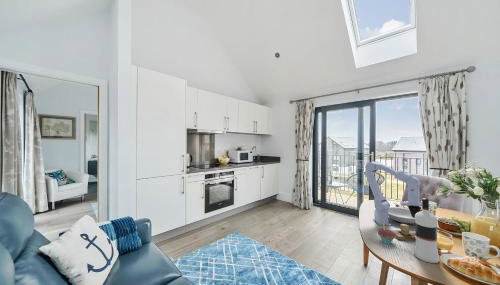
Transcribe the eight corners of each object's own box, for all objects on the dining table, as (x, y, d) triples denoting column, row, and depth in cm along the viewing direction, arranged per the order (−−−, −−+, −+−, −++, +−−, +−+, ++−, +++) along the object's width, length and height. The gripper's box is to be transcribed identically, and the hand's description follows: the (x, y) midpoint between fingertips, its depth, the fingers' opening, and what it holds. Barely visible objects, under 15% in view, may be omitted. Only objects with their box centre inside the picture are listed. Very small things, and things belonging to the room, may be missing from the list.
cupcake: (387, 246, 108) (387, 225, 108) (374, 239, 116) (373, 219, 116) (399, 244, 110) (398, 223, 110) (385, 237, 119) (384, 217, 119)
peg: (399, 234, 121) (399, 223, 121) (407, 235, 120) (407, 224, 120) (402, 238, 117) (402, 226, 117) (411, 239, 116) (411, 227, 116)
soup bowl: (408, 215, 152) (408, 207, 152) (434, 229, 128) (434, 219, 128) (376, 214, 155) (376, 206, 155) (396, 228, 131) (396, 218, 131)
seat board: (390, 232, 124) (390, 229, 124) (421, 234, 121) (421, 231, 121) (398, 239, 115) (398, 236, 115) (433, 242, 112) (432, 238, 112)
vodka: (413, 258, 97) (412, 198, 97) (414, 251, 103) (413, 194, 103) (439, 266, 90) (438, 202, 90) (439, 257, 97) (438, 198, 97)
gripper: (404, 197, 121) (405, 219, 121) (431, 198, 118) (431, 220, 118) (398, 194, 128) (398, 215, 128) (423, 195, 125) (423, 216, 125)
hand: (414, 217), depth 123 cm, fingers closed
